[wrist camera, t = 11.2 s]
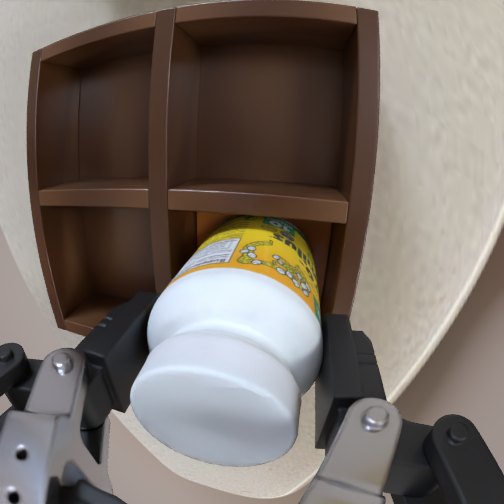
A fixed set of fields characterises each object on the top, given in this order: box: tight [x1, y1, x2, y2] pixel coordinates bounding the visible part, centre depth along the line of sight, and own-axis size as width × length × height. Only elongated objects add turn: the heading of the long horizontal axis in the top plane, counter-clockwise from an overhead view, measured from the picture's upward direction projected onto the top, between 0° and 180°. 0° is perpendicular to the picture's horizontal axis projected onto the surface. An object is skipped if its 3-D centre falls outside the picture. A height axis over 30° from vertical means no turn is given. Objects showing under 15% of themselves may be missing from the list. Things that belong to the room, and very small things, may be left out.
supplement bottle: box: [130, 214, 323, 467], centre depth 10 cm, size 5×5×10 cm
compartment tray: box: [27, 0, 380, 336], centre depth 13 cm, size 15×15×4 cm
